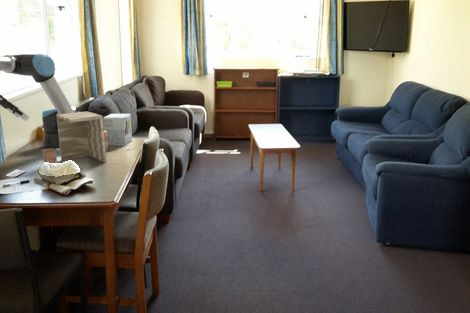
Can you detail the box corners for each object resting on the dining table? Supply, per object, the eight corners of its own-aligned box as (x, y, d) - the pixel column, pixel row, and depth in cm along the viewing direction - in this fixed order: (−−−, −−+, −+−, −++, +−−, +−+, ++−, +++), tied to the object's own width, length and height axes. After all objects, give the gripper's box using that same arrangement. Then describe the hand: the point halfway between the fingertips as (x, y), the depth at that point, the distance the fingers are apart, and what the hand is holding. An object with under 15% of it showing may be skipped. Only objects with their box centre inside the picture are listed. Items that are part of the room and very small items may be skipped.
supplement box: (125, 146, 290) (123, 117, 286) (104, 146, 291) (102, 117, 286) (133, 140, 307) (131, 113, 302) (113, 140, 308) (111, 113, 303)
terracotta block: (44, 168, 241) (42, 149, 239) (54, 166, 244) (52, 148, 242) (47, 170, 238) (45, 151, 235) (57, 168, 241) (55, 149, 238)
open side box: (61, 160, 258) (56, 114, 251) (91, 155, 268) (87, 111, 262) (75, 167, 242) (70, 119, 236) (106, 162, 252) (102, 115, 246)
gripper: (-26, 93, 226) (11, 119, 239) (-14, 97, 207) (25, 126, 220) (-15, 81, 228) (21, 108, 241) (-3, 84, 209) (36, 114, 222)
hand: (23, 117), depth 231 cm, fingers open, 13 cm apart
